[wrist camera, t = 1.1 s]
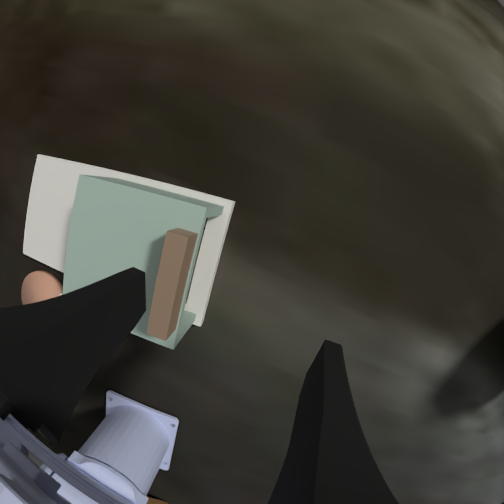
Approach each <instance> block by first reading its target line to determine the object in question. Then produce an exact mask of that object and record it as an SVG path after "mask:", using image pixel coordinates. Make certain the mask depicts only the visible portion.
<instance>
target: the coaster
mask: <svg viewBox="0 0 504 504" xmlns="http://www.w3.org/2000/svg"><path fill="white" fill-rule="evenodd" d="M21 294H22V303H23V305H25V304H30V303H35V302H39V301H43V300H47V299H50V298H54V297H57V296H60V295H62V294H63V285H62V284H61V282H60V281H59V280H58V279H57V278H56V277H55V276H54V275H53V274H52V273H50V272H48V271H45V270H38V271H35V272H32V273H30V274H28V275H27V276H26V278H25V279H24V282H23V285H22V293H21Z"/></svg>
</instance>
